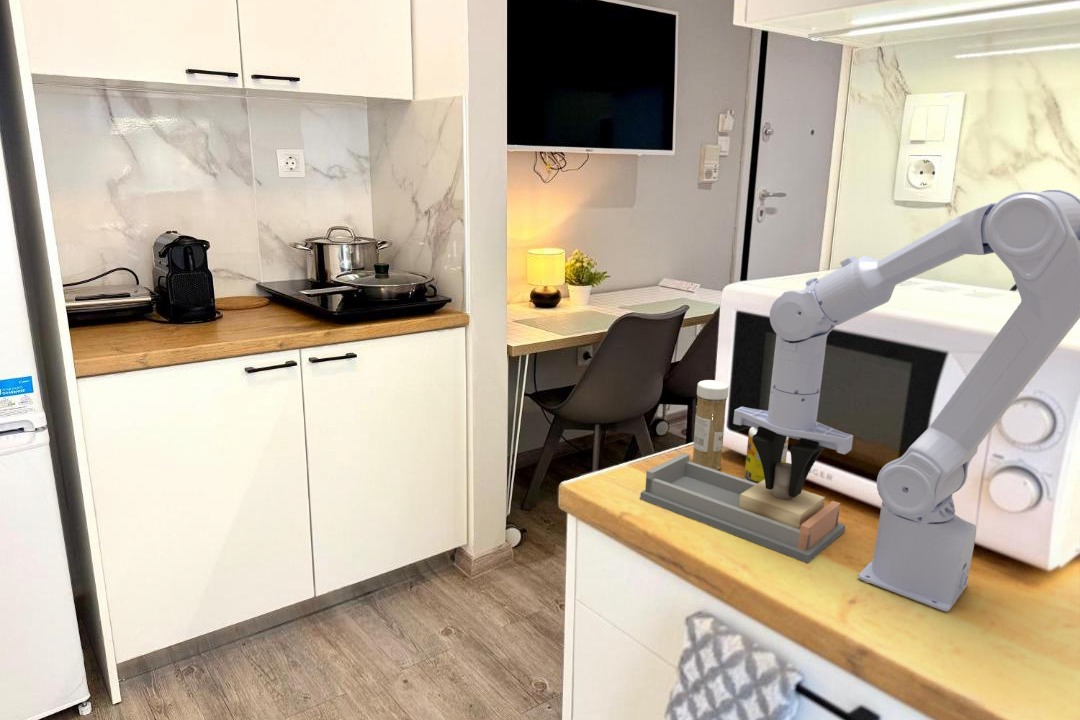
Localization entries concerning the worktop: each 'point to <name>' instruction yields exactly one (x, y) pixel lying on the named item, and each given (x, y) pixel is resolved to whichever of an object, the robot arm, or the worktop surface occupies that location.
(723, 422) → the brown spice jar
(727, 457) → the worktop surface
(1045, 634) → the worktop surface
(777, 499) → the beige knobbed block
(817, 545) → the tray
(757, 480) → the supplement bottle
